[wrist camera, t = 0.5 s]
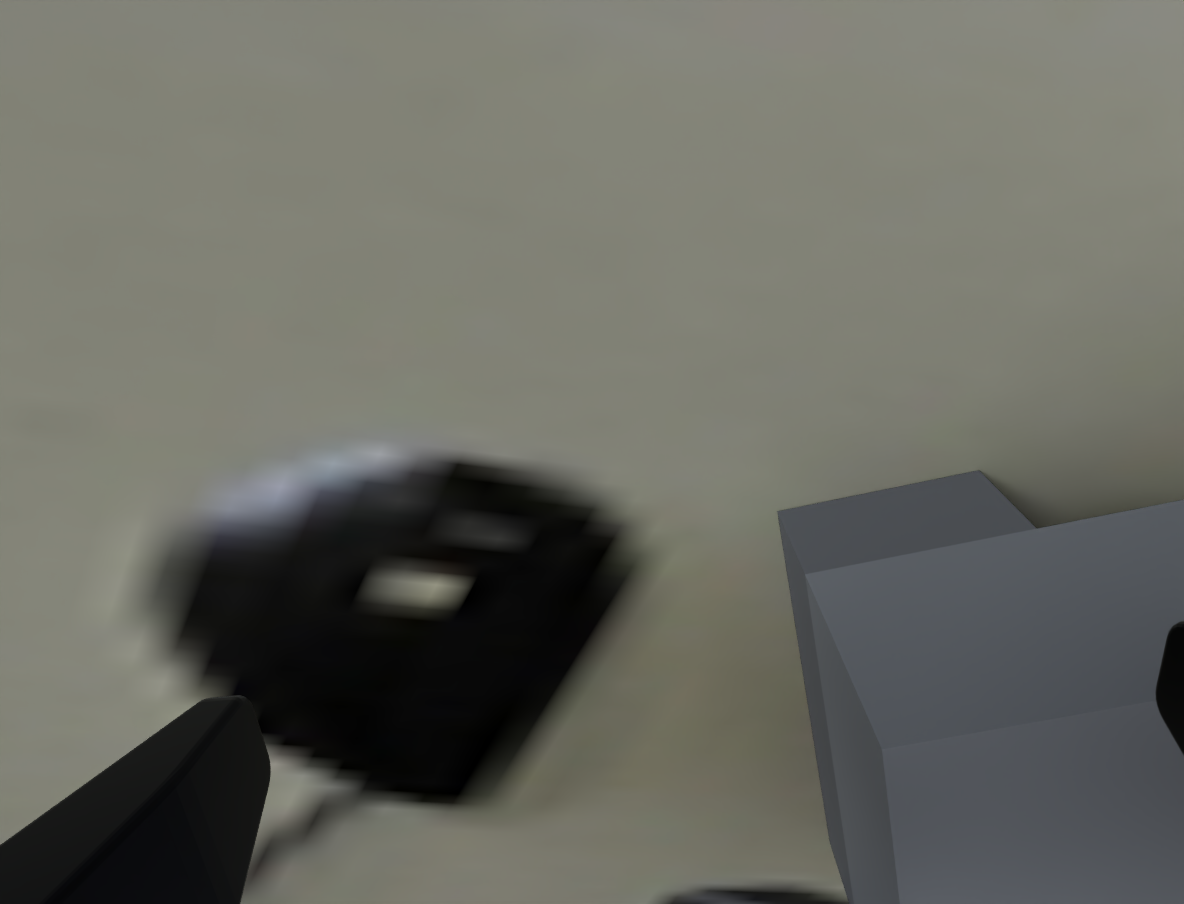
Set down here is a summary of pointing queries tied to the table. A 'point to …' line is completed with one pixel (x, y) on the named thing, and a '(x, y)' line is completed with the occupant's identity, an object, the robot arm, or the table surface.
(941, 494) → the cabinet
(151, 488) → the table surface
